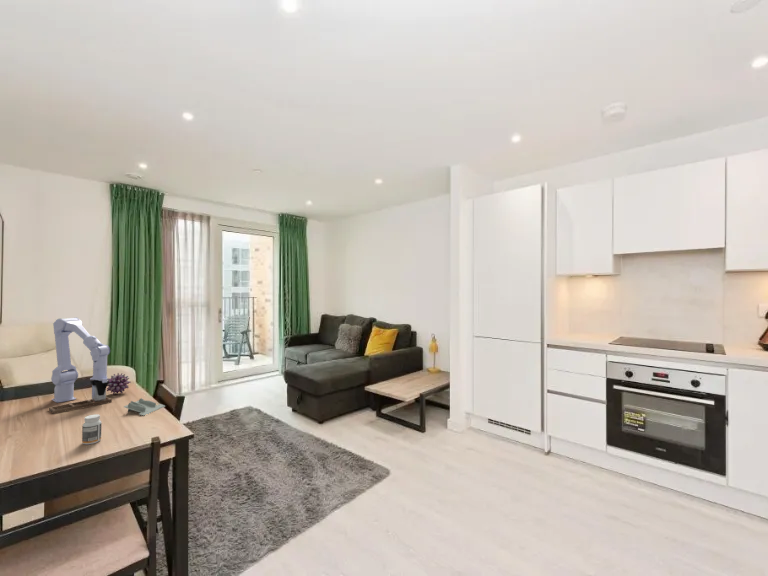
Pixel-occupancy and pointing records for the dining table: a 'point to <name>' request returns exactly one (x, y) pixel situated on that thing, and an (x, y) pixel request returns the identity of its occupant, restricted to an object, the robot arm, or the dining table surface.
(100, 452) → the dining table surface
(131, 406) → the metal bracket
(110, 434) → the dining table surface
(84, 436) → the pill bottle
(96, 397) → the square peg
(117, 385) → the spiky ball
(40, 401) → the dining table surface
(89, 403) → the rail
